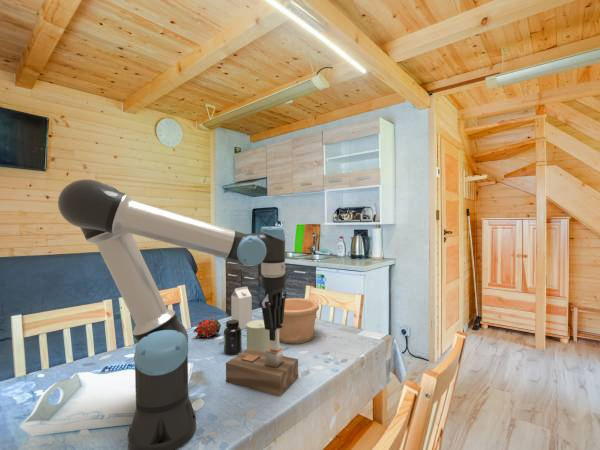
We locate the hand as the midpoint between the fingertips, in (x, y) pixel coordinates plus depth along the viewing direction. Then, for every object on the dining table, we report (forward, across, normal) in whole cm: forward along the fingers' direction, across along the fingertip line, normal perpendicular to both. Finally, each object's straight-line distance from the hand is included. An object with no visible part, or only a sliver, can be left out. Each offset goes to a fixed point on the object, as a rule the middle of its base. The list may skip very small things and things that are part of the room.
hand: (274, 349), depth 99 cm
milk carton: (+11, +38, +41) cm, 57 cm away
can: (+11, +16, +17) cm, 25 cm away
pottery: (+11, +37, +12) cm, 40 cm away
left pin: (+10, 0, +9) cm, 14 cm away
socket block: (+11, 0, +5) cm, 12 cm away
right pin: (+6, 0, 0) cm, 6 cm away
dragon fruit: (+11, +21, +47) cm, 52 cm away
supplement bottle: (+11, +13, +27) cm, 32 cm away
